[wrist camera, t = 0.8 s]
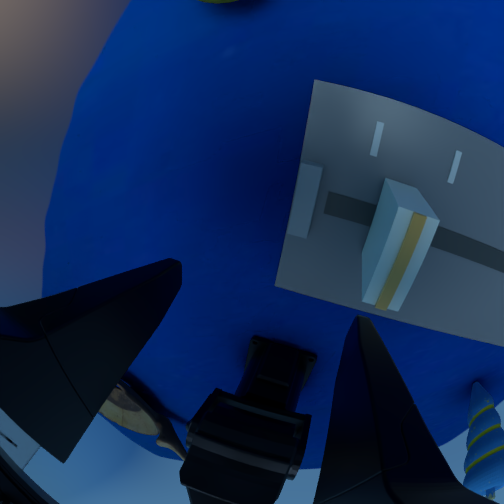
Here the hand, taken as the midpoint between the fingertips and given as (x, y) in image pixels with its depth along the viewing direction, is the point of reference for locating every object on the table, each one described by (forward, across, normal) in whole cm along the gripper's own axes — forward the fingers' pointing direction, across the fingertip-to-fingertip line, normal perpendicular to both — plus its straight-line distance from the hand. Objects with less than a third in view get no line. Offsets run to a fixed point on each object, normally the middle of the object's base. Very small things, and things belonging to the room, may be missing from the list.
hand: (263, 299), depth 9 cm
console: (+12, -11, 0) cm, 16 cm away
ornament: (+12, -23, +14) cm, 30 cm away
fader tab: (+10, -5, 0) cm, 11 cm away
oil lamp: (+12, +23, +44) cm, 51 cm away
